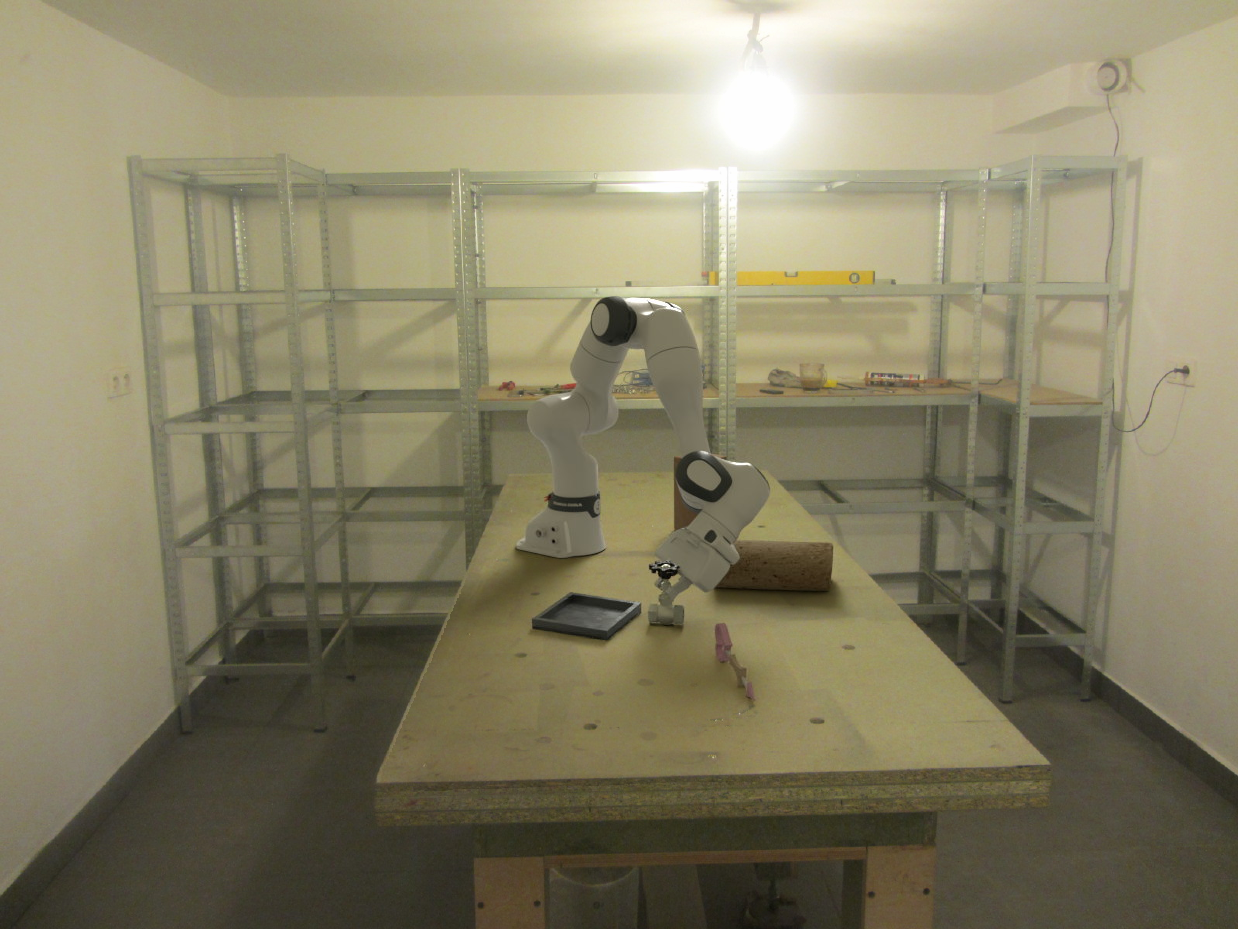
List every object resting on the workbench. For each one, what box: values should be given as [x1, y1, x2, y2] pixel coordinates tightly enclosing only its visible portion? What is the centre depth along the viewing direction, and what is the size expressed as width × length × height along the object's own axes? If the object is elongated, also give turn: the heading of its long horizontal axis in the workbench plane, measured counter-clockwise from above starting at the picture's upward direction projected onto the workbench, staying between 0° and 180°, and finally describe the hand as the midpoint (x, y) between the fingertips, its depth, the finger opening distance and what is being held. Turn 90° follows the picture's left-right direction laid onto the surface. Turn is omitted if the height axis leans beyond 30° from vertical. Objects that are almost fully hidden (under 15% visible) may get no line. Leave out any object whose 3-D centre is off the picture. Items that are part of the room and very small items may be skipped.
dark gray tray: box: [531, 591, 642, 642], centre depth 178 cm, size 16×16×2 cm
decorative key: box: [714, 622, 756, 701], centre depth 151 cm, size 7×1×20 cm
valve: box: [647, 560, 685, 626], centre depth 174 cm, size 7×7×12 cm
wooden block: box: [673, 453, 728, 531], centre depth 237 cm, size 10×10×20 cm
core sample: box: [715, 539, 834, 592], centre depth 196 cm, size 14×26×10 cm, turn 81°
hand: (663, 592), depth 174 cm, fingers closed on valve, 4 cm apart
